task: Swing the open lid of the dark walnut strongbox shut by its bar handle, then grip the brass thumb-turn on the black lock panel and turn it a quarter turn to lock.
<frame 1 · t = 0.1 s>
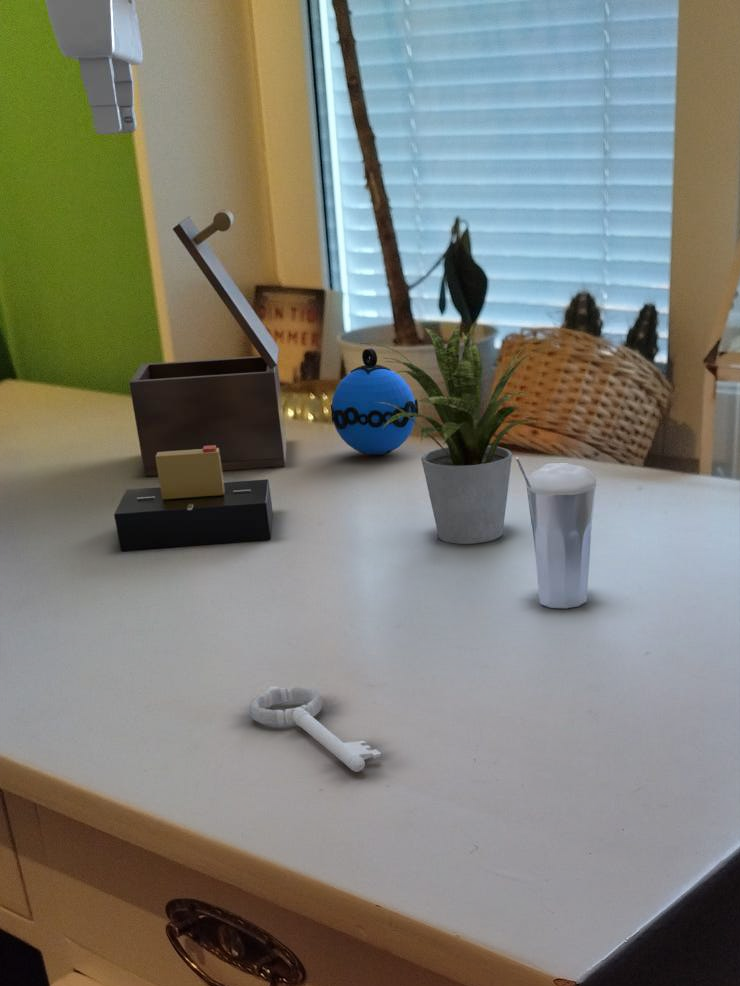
hand: (117, 133, 99), 29 cm above the table, tool pointing down, fingers open, 8 cm apart
ornament: (378, 456, 132), on the table
key: (313, 738, 72), on the table
strongbox: (218, 459, 133), on the table
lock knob: (190, 472, 107), point 5 cm above the table, hinge at 0.0°
lid: (245, 280, 125), point 16 cm above the table, hinge at 60.0°
lock panel: (199, 532, 109), on the table
milkshake: (557, 605, 90), on the table
house plant: (457, 534, 106), on the table
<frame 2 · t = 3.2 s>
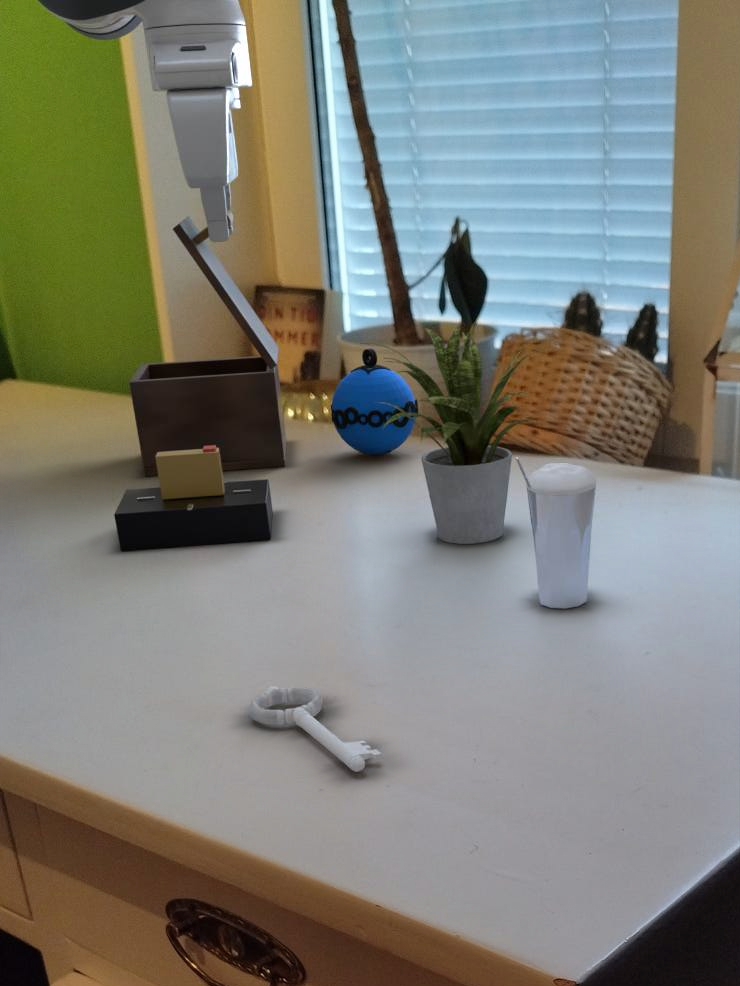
hand: (222, 238, 123), 20 cm above the table, tool pointing down, fingers closed on lid, 5 cm apart
lid: (245, 280, 125), point 16 cm above the table, hinge at 60.0°, touching gripper
everything else where it was.
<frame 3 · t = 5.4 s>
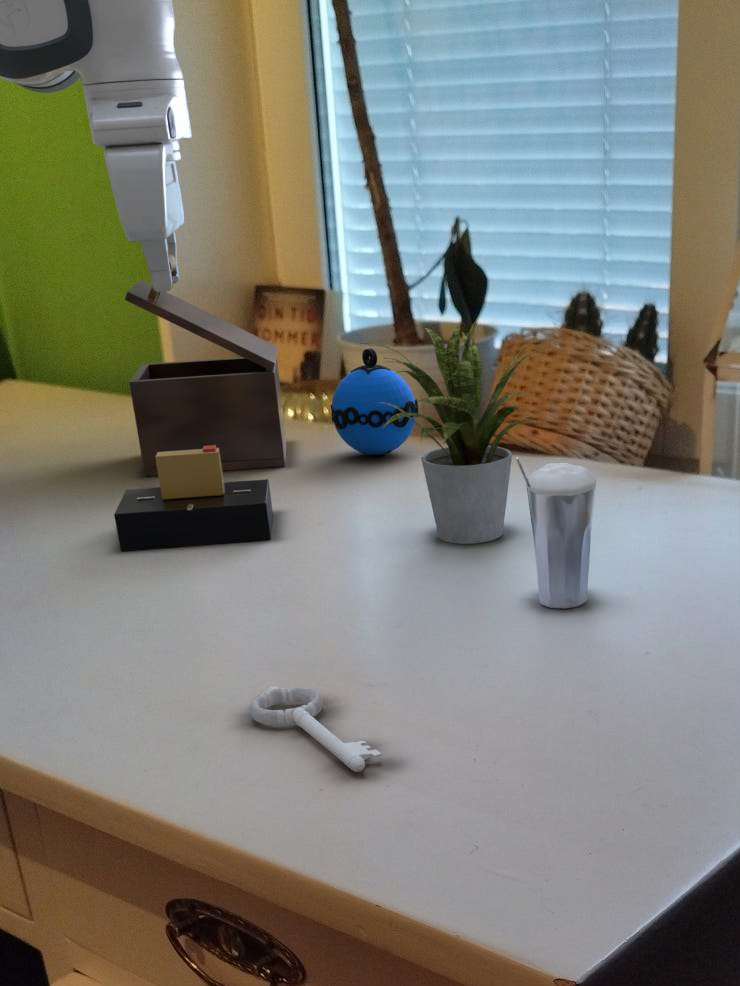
hand: (166, 287, 125), 16 cm above the table, tool pointing down, fingers closed on lid, 5 cm apart
lid: (212, 305, 126), point 14 cm above the table, hinge at 29.1°, touching gripper
everything else where it was.
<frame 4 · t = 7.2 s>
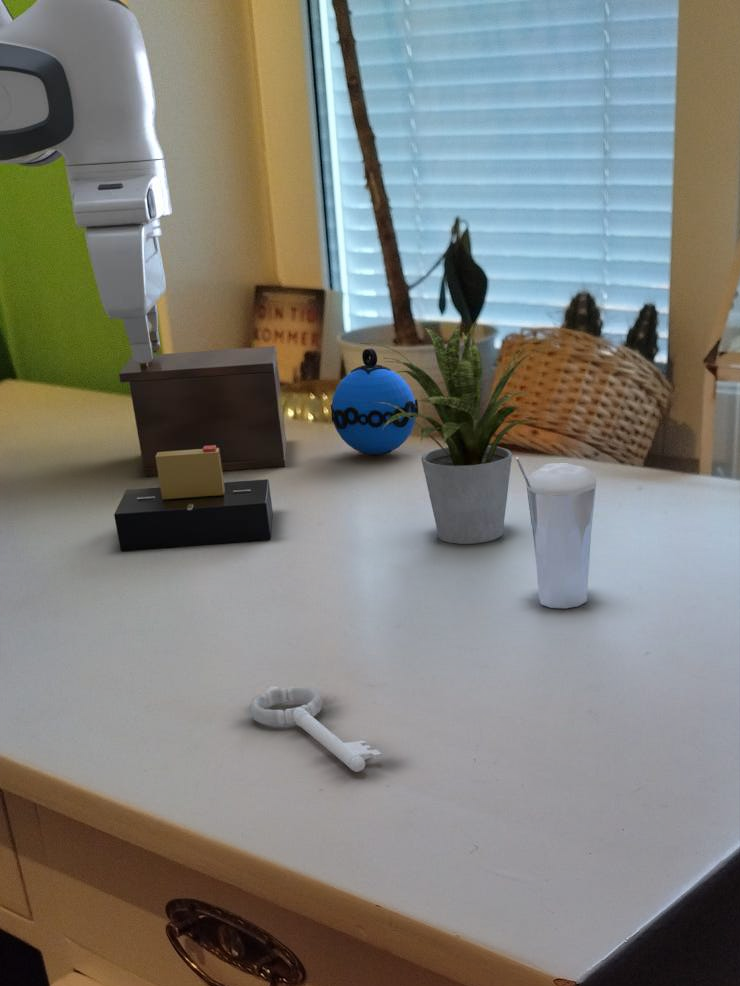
hand: (147, 357, 127), 10 cm above the table, tool pointing down, fingers closed on lid, 5 cm apart
lid: (197, 343, 127), point 11 cm above the table, hinge at -0.2°, touching gripper, strongbox
everything else where it was.
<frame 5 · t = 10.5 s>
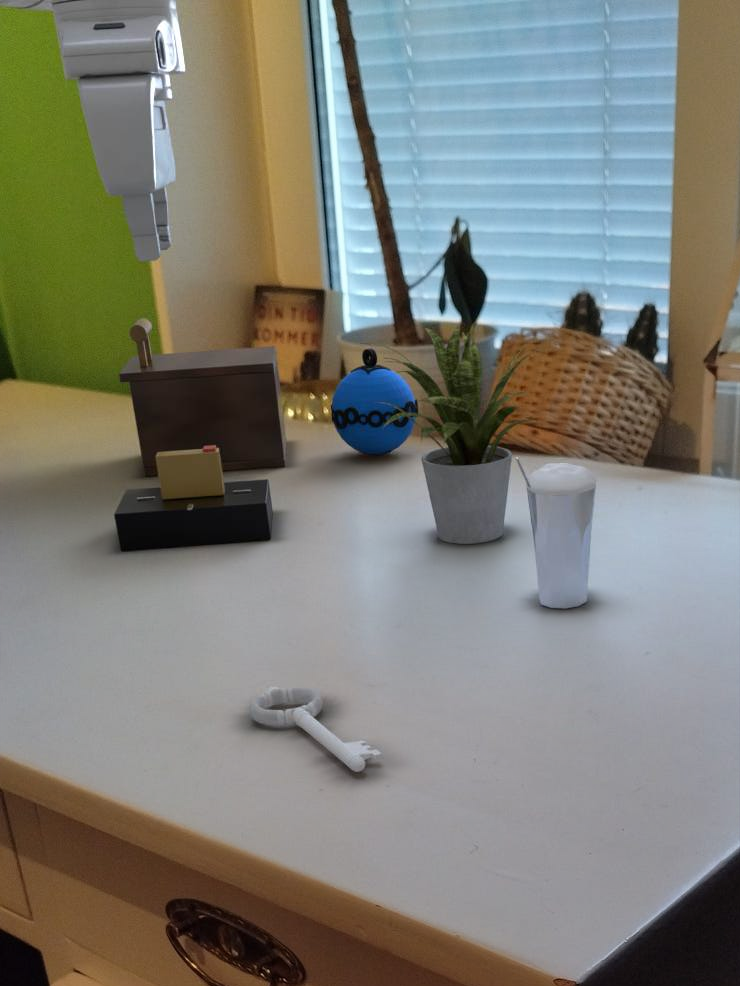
hand: (155, 255, 104), 21 cm above the table, tool pointing down, fingers open, 8 cm apart
lid: (197, 343, 127), point 11 cm above the table, hinge at -0.2°, touching strongbox
everything else where it was.
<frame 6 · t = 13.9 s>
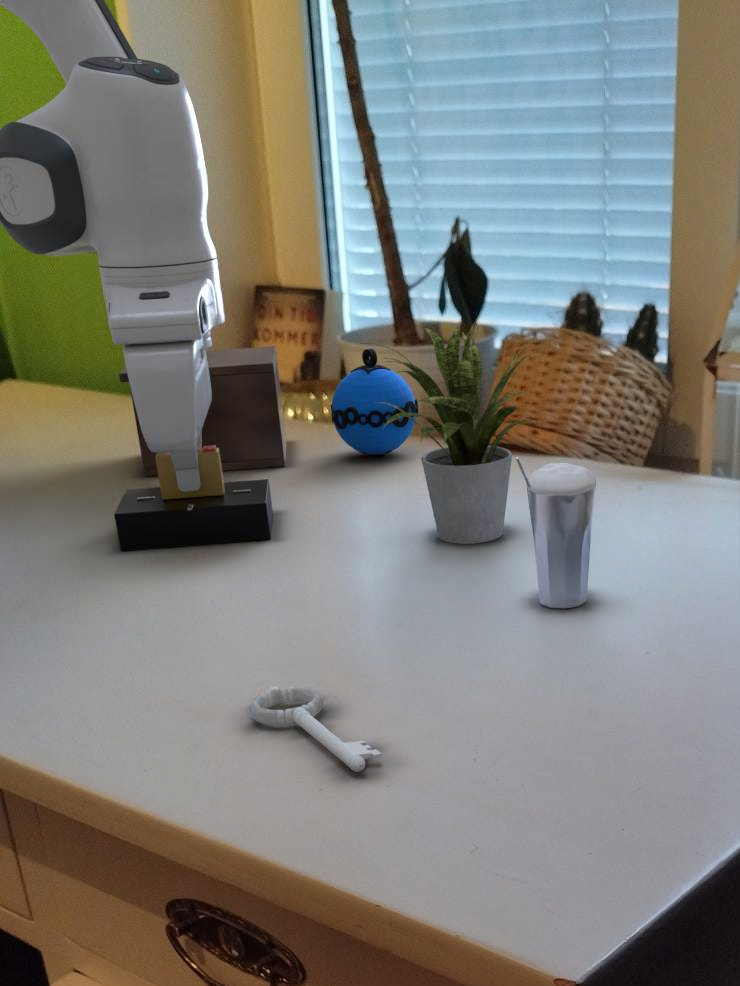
hand: (192, 484, 107), 4 cm above the table, tool pointing down, fingers closed on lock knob, 2 cm apart
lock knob: (190, 472, 107), point 5 cm above the table, hinge at 0.0°, touching gripper
everything else where it was.
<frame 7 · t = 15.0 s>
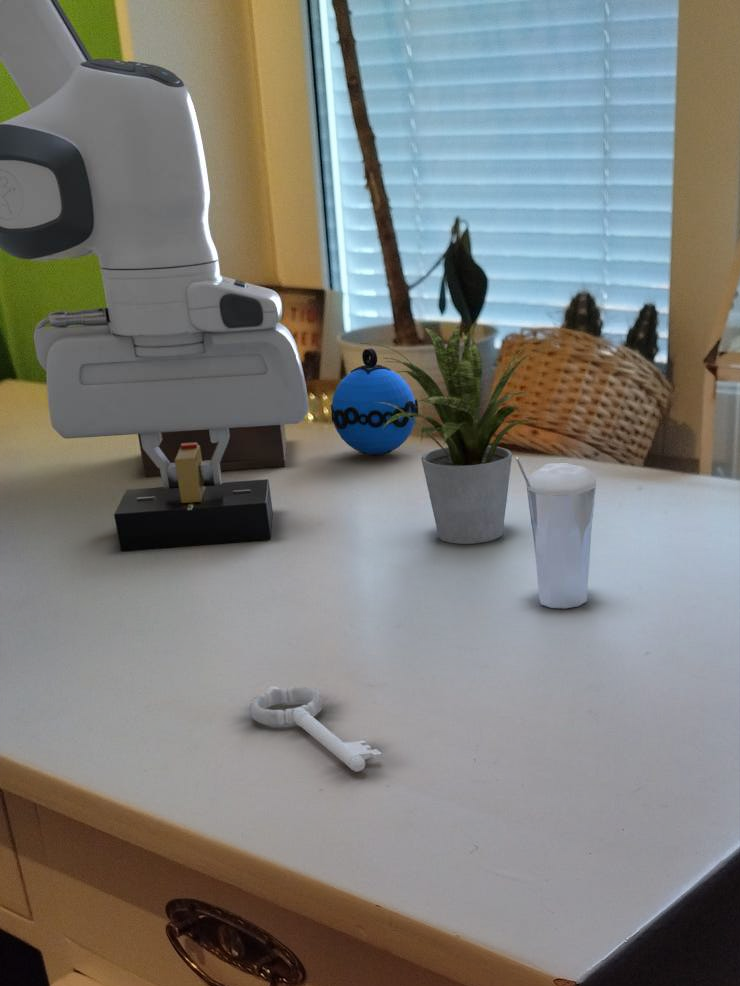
hand: (193, 485, 108), 4 cm above the table, tool pointing down, fingers closed
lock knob: (190, 472, 107), point 5 cm above the table, hinge at 89.6°
everything else where it was.
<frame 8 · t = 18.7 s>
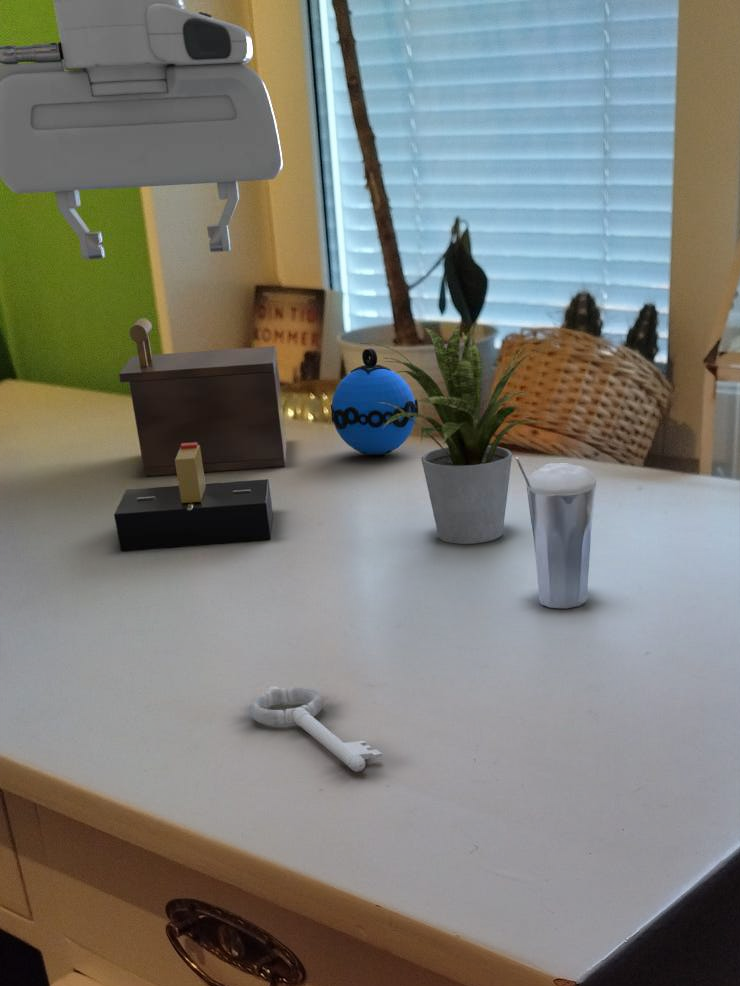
hand: (157, 255, 99), 21 cm above the table, tool pointing down, fingers open, 8 cm apart
nothing on the table moved.
at the end: lid at +0° (first picture: +60°); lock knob at +90° (first picture: +0°) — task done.
